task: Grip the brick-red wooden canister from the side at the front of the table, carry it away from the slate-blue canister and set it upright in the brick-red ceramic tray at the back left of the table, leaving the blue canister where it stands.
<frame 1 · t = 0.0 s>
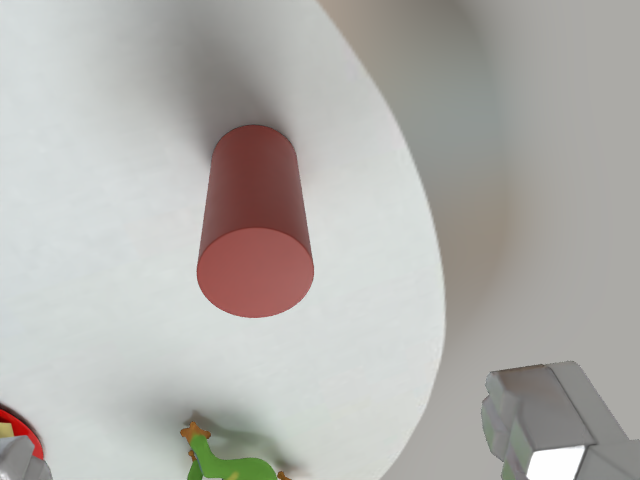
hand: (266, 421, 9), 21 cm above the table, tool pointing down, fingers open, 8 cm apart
red canister: (254, 164, 30), on the table
toy: (232, 457, 46), on the table
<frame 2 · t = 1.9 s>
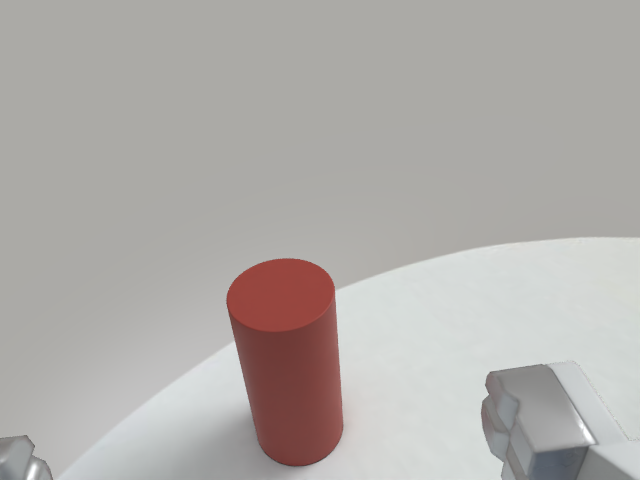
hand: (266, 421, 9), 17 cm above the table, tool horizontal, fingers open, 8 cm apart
red canister: (299, 425, 29), on the table
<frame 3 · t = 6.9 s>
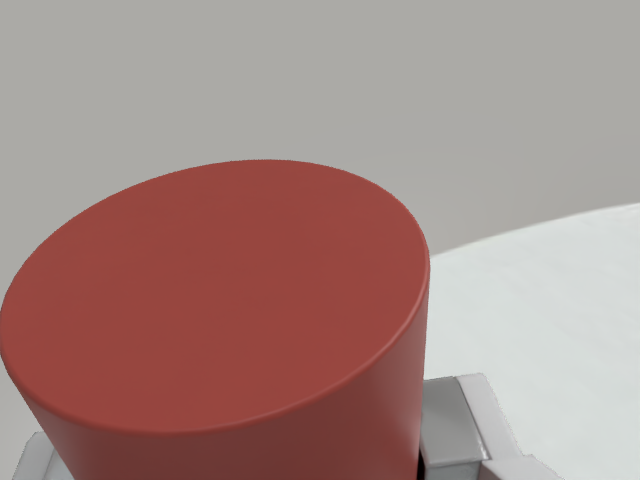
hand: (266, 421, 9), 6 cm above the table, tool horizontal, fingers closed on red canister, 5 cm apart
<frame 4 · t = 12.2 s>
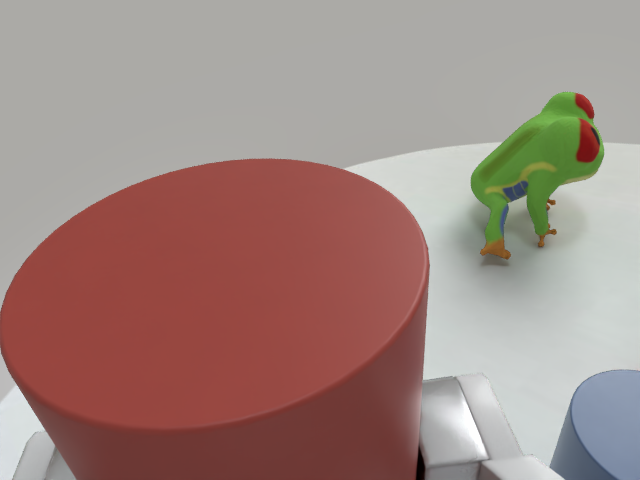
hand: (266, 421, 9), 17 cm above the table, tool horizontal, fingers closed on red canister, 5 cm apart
toy: (522, 221, 43), on the table
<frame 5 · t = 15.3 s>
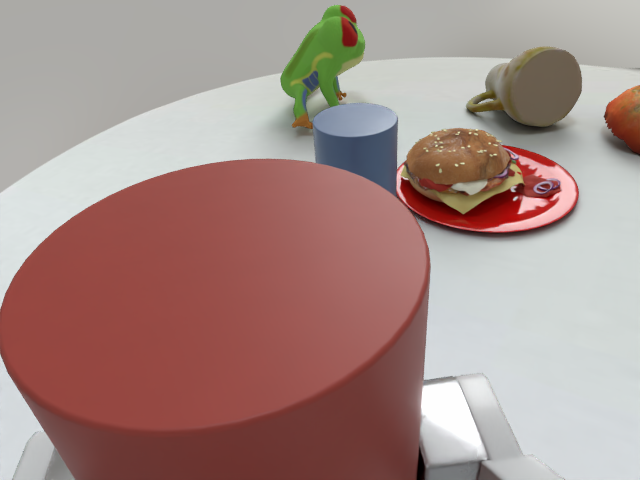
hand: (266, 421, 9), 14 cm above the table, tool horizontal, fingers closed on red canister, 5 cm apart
toy: (325, 110, 57), on the table
blue canister: (359, 258, 36), on the table
mug: (515, 115, 53), on the table
hamburger: (481, 188, 42), on the table
when the fingers open (6 cm above the table, at t = 17.9 s): red canister stays where it is, resting on red tray.
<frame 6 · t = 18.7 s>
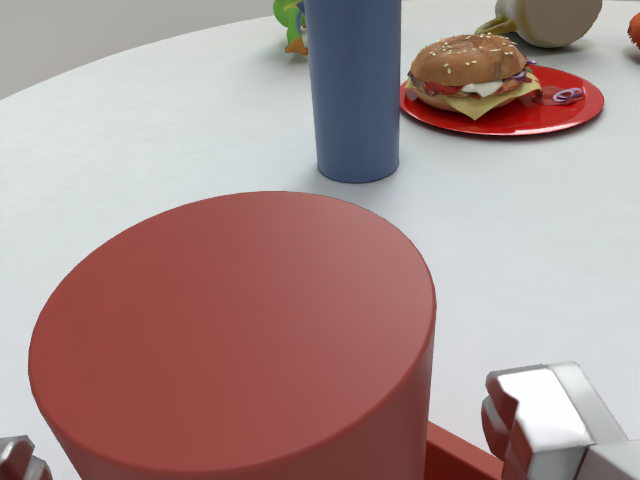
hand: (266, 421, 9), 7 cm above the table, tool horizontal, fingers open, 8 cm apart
toy: (321, 43, 53), on the table
blue canister: (358, 163, 31), on the table
mug: (527, 41, 49), on the table
hamburger: (494, 101, 38), on the table
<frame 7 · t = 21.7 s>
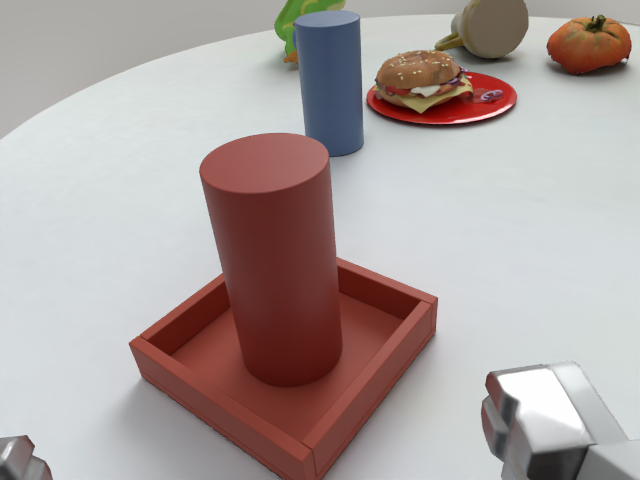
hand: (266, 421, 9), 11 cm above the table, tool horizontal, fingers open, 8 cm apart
red canister: (292, 347, 25), resting on red tray
toy: (313, 54, 66), on the table
red tray: (291, 353, 26), on the table
blue canister: (334, 143, 44), on the table
tomato: (583, 66, 55), on the table
mug: (475, 53, 62), on the table
hamburger: (439, 99, 51), on the table
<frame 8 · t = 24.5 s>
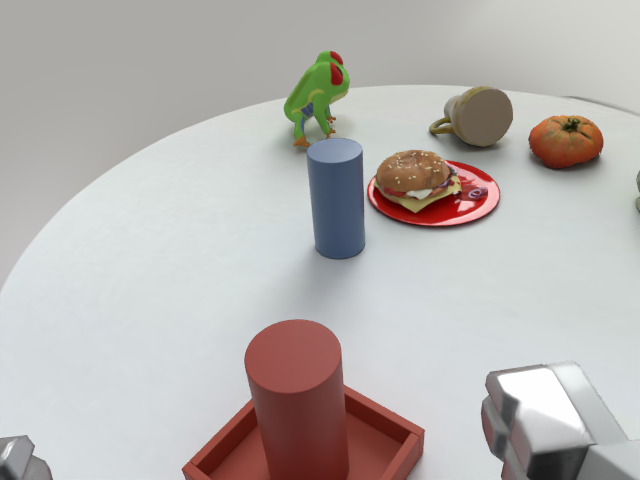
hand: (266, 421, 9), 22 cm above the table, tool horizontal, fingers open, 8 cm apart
red canister: (309, 466, 32), resting on red tray
toy: (319, 131, 73), on the table
red tray: (308, 470, 32), on the table
blue canister: (340, 243, 51), on the table
tomato: (561, 157, 62), on the table
mug: (466, 136, 68), on the table
hamburger: (432, 193, 57), on the table
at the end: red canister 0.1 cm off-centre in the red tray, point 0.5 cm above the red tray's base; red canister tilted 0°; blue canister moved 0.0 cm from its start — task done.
